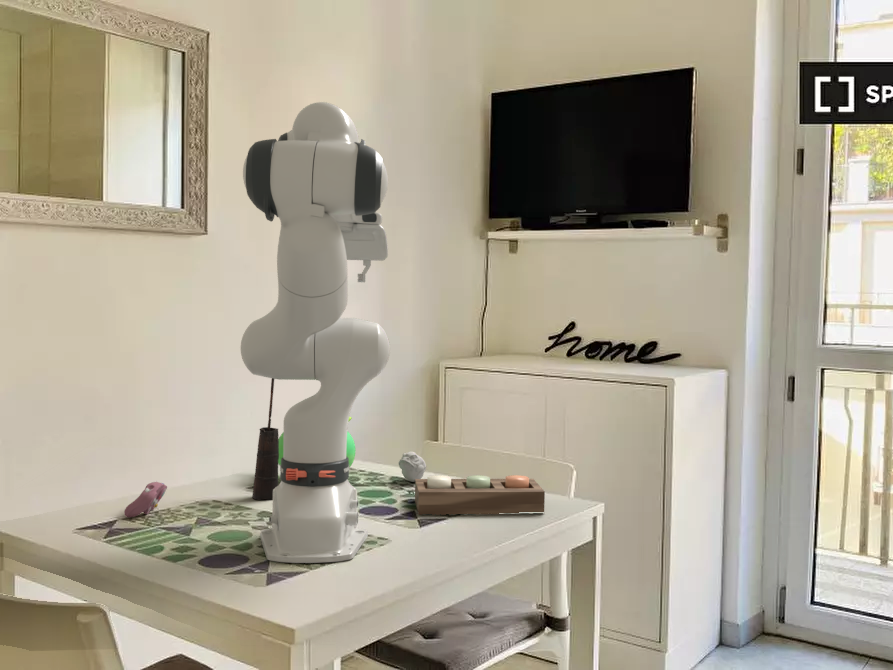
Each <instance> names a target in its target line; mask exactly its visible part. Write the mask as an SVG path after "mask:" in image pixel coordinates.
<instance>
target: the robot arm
mask: <svg viewBox="0 0 893 670" xmlns="http://www.w3.org/2000/svg"><path fill="white" fill-rule="evenodd" d="M388 175H389V174H388V170H387V167H386V164H385V163H384V158H383V157H382V156H381V154H380V153H379V152H378V151H377V150H376V149H375V148H373V147H370V146H368V145H366V140H364V139H362V138H361V139H360V136H359V132H358V130H357V127H356V125H355V122H354V121H353V120H352V118H351V116H349V114H348V113H347V112H346V111H344V110H343V109H342V108H340V107H339V106H338V105H335V104H333V103H330V102H327V101H326V102H325V101H318V102H313V103H310V104H309V105H307V106H305V107H304V108H302V109H301V110H300V111H299V112H298V114H296V117H295V118H294V121H293V125H292V129H291V130H289V131H288V132H285V133H283V134H281V135H280V136H279V138H278V139H276V138H272V139H271V138H269V139H264V140H263V139H262V140H258V141H255V142H254V143H253V144H252V145H251V146H250V147H249V149H248V152H247V155H246V158H245V160H244V163H243V168H242V179H243V183H244V187H245V189H246V194H247V195H246V196H248V198H249V200H250V201H251V203H252V204H253V205H254V206H255V207H256V208H257V209H258V210H259V211H260V212H262V213H264V215H265V218H266V220H267V221H269V222H273V221H274V220H275V216H276V218H279V220H280V232H279V237H278V244H277V255H276V269H277V270H276V272H277V283H278V284H277V285H278V286H277V288H278V294H277V295H278V297H277V303H276V304H275V306H274V307H273V308H272V309H271V310H270V311H268V313H266V315H264V316H262V317H260V318H258V319H256V320H253V321H252V322H251V323H250V324H249V325H248V327H246V329H245V330H244V333H243V334H242V337H241V341H240V354H241V358H242V361H243V364H244V365H245V367H246V368H247V370H248V371H249V372H250V373H251V374H252V375H255V376H260V377H263V378H267V379H272V378H273V379H274V380H282V381H283V380H287V381H288V380H295V381H297V380H299V381H301V380H302V381H303V380H304V381H305V380H307V381H311V380H312V381H319V382H320V388H319V389H318V391H317V392H316V393H314V394H313V395H311V396H309V397H307V398H305V399H302V400H301V401H298V402H297V403H296V404H294V405H292V406H291V407H289V409H288V410H287V412H286V413H285V415H284V418H283V432H284V435H283V457H282V458H281V465H279V471H280V477H279V479H280V483H278V486H277V487H275V489H273V499H272V513H271V514H272V515H269V520H268V522H269V523H270V524H272V525H271V527H270V528H266V529H262V530H261V531H260V535H259V539H260V542H261V544H262V545H261V546H262V548H263V551H264V553H265V556H266V557H265V558H266V559H267V560H268V561H272V562H278V563H279V562H280V563H293V564H295V563H296V564H299V563H301V564H304V563H305V564H311V563H312V564H313V563H314V564H316V563H334V562H343V561H347V560H348V561H349V560H352V559H354V557H355V555H356V554H357V553H358V551H359V550H360V548H361V547H362V546H363V544H364V542H365V541H366V539H367V538H368V536H369V535H368V533H369V532H368V529H366V528H363V527H362V528H361V527H359V526H358V525H359V512H358V508H359V500H358V498H357V496H358V495H357V494H358V491H357V488H355V487H354V486H353V485H352V484H351V483H350V481H349V477H350V468H349V458H348V457H347V456H346V448H347V431H348V428H349V422H350V421H349V417H350V414H351V412H352V411H351V410H352V407H353V405H354V403H355V400H356V399H357V398H358V395H359V394H360V393H361V391H362V390H363V389H364V387H366V386H367V384H369V382H371V381H372V380H373V379H374V378H376V377H377V376H379V375H380V374H381V373H382V372H383V370H384V369H385V367H386V366H387V364H388V361H389V358H390V354H391V346H390V345H391V344H390V341H389V337H388V334H387V332H386V331H385V329H384V328H383V326H381V324H380V323H379V322H376V321H370V320H366V319H363V318H356V317H342V315H343V314H344V313H345V310H346V308H347V305H348V296H349V295H348V285H349V284H348V261H362V264H363V266H364V269H362V272H361V273H357V283H365V282H366V274H367V272H368V271H369V269H370V268H371V266H372V261H381V262H382V261H385V260H386V259H387V258H388V256H389V248H388V238H387V232H386V230H385V228H384V227H383V226H382V225H381V224H382V223H383V215H382V213H380V212H377V211H378V210H380V208H381V205H382V202H383V201H384V199H385V197H386V195H387V192H388V187H389V176H388ZM348 421H349V422H348Z"/></svg>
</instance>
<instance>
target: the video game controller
mask: <svg viewBox="0 0 893 670" xmlns="http://www.w3.org/2000/svg"><path fill="white" fill-rule="evenodd" d="M167 488H168V486H167V485H166V484H165V483H163V482H159V481H157V480H156V481H153V482H150V483H148V484H146V486H145V488H144V490H142V492H141V493H140V494H139V496H138V497H137V498H136V499H134V501H132V502H131V503H129V504H128V505H127V506H126V507H125V508H124V511H123V513H124V516H125V517H126V518H135V517H137V516H139V515H141V514H142V513H143V514H144V515H149V514H150V512H151V511H154V510H155V508H158V505H159V504H158V503H159V502H160V501H161V499H162V498H163V497H164V495H165V493H166V491H167V490H168V489H167Z"/></svg>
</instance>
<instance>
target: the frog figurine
mask: <svg viewBox="0 0 893 670" xmlns="http://www.w3.org/2000/svg"><path fill="white" fill-rule="evenodd" d="M398 466H399V469H400V470H401V474H402V476H403V477H404V479H405V480H406V481H409V482H412V483H415V479H423V477H424V473H425V471H426V469H427V464H426V461H425V460H424V458H423V457H421V456H420V455H418V454H417V453H416V451H415V452H414V451H408V452H403V453H402V457H401V459H399V460H398Z"/></svg>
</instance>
